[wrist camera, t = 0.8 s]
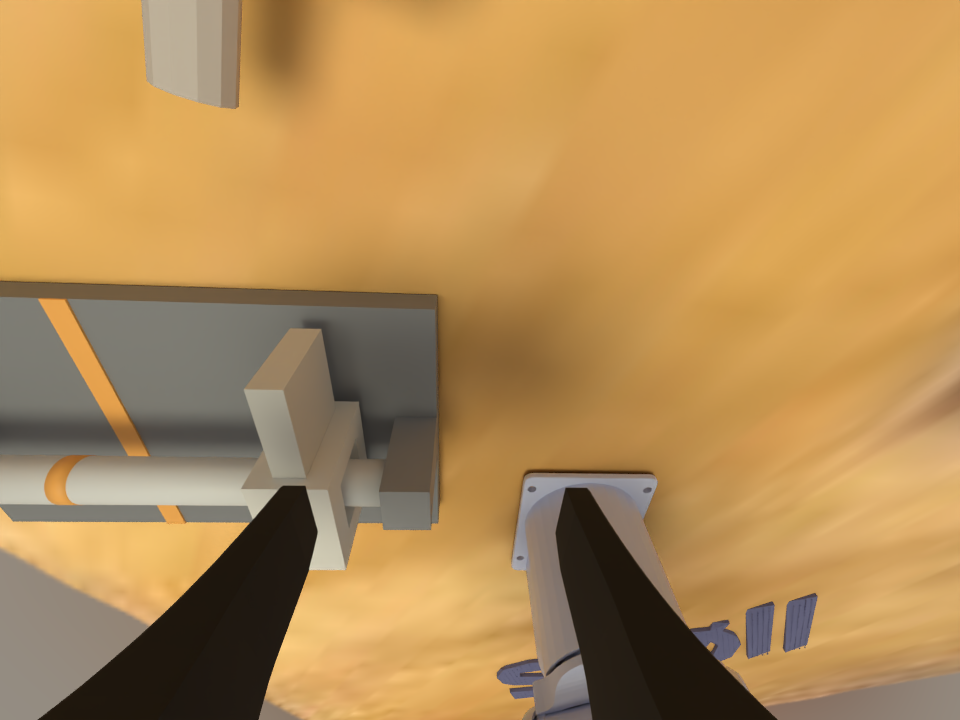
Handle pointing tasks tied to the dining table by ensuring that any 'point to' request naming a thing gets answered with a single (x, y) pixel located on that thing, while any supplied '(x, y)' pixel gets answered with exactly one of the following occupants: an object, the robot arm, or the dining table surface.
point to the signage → (706, 640)
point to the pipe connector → (194, 49)
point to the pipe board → (201, 399)
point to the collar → (305, 441)
